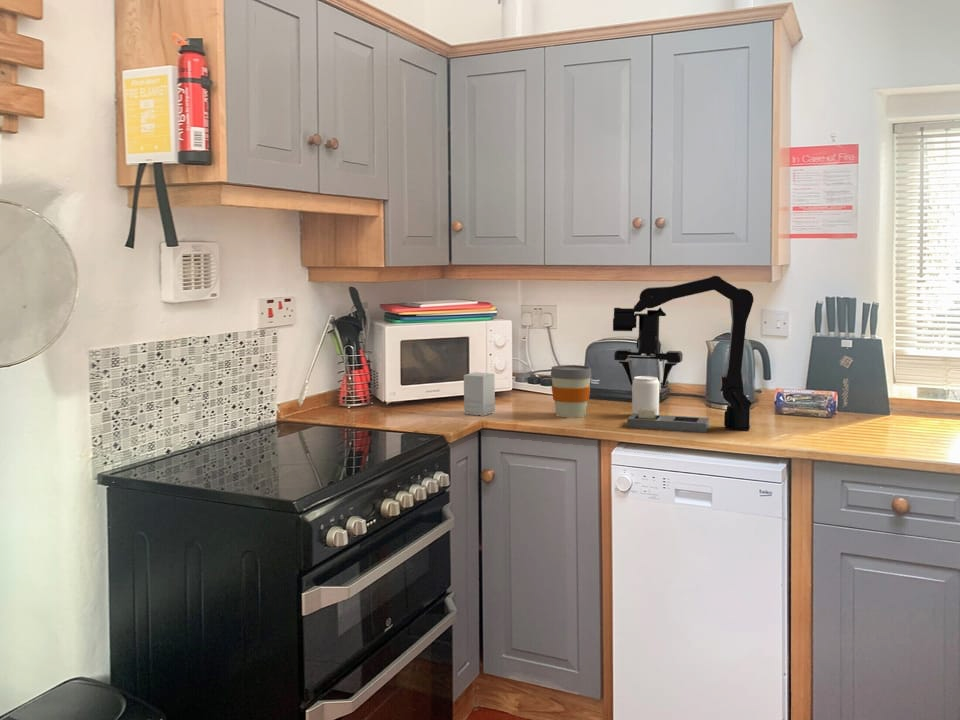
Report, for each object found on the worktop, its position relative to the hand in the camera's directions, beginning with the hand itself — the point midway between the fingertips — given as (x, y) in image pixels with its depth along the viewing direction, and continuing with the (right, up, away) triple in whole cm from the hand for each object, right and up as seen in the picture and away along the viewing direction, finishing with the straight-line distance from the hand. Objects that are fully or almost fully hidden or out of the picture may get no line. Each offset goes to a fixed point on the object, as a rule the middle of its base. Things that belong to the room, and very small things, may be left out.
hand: (647, 385), depth 243 cm
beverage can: (+2, -10, +16) cm, 19 cm away
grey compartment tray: (+6, -12, -1) cm, 13 cm away
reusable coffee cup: (-20, -10, +18) cm, 29 cm away
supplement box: (-49, -10, +22) cm, 54 cm away
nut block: (0, -12, +1) cm, 12 cm away
